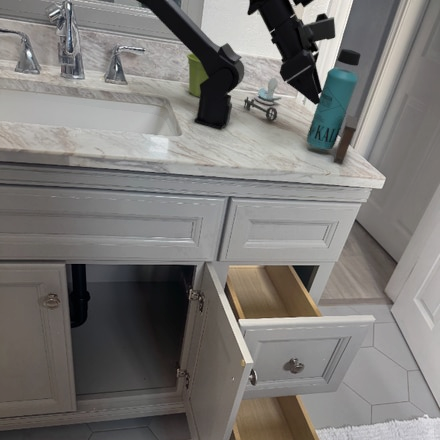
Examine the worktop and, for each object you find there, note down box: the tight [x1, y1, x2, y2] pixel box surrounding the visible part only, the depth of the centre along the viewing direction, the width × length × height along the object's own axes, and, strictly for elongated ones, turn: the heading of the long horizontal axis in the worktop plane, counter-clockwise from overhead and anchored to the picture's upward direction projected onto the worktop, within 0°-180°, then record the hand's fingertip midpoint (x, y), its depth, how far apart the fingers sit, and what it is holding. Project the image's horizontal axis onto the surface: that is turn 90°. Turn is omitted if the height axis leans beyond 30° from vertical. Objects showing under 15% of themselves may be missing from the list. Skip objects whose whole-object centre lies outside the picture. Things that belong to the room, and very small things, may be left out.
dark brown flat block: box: [333, 114, 358, 165], centre depth 91 cm, size 2×9×8 cm, turn 164°
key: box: [243, 96, 278, 122], centre depth 105 cm, size 12×1×3 cm, turn 39°
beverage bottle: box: [306, 48, 361, 150], centre depth 88 cm, size 6×7×20 cm
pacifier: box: [254, 77, 282, 106], centre depth 115 cm, size 7×6×6 cm
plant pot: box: [186, 52, 209, 98], centre depth 109 cm, size 9×9×9 cm
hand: (319, 98), depth 88 cm, fingers open, 9 cm apart
